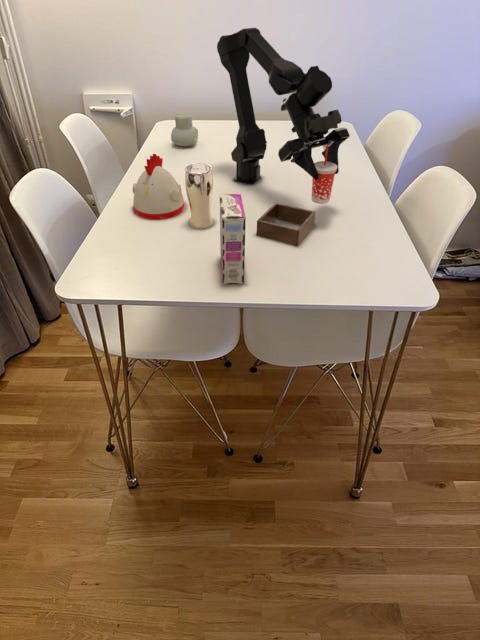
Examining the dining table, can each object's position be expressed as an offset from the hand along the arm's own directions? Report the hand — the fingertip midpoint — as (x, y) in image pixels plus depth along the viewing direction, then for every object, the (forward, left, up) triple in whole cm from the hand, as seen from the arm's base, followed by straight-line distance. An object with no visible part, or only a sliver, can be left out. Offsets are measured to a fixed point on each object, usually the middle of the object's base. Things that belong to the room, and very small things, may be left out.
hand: (327, 176), depth 113 cm
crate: (-7, -7, -13) cm, 17 cm away
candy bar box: (-11, -30, -13) cm, 35 cm away
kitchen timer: (-44, -12, -13) cm, 47 cm away
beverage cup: (-1, +1, -7) cm, 7 cm away
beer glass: (-29, -14, -13) cm, 34 cm away
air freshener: (-65, +34, -13) cm, 74 cm away
